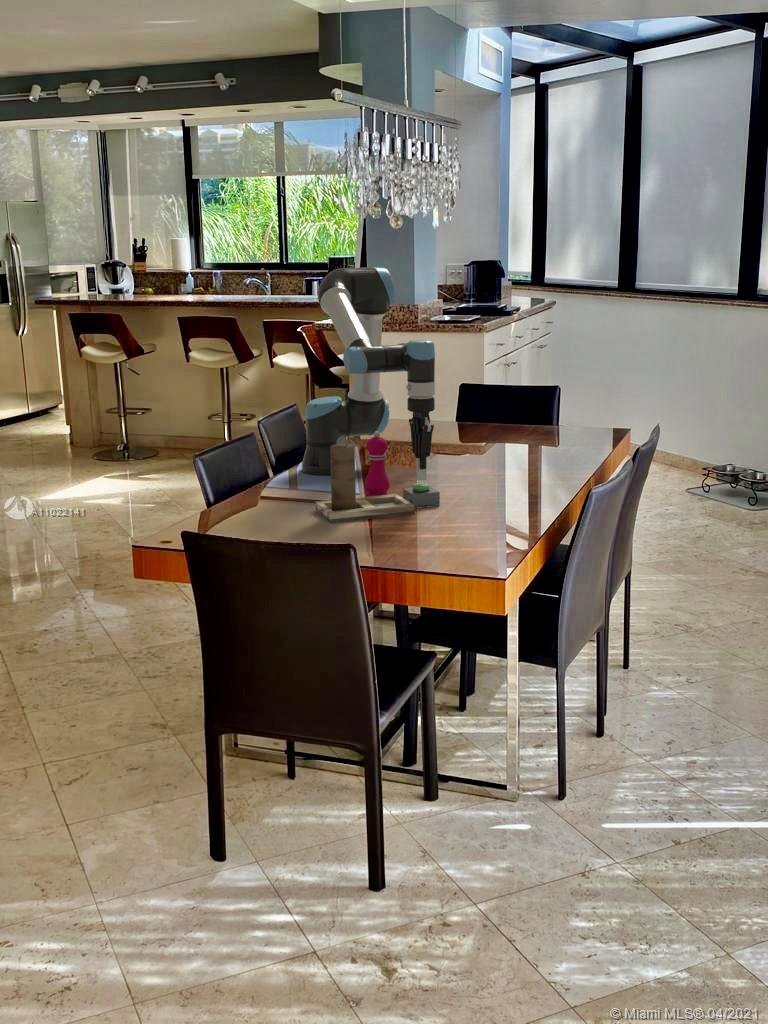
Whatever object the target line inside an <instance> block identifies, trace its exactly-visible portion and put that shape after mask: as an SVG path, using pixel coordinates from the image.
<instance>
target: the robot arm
mask: <svg viewBox="0 0 768 1024" xmlns="http://www.w3.org/2000/svg"><path fill="white" fill-rule="evenodd" d="M317 290H318V291H317V300H318V303H319V306H320V308H321V309H322V311H323V312H324V313H325V314H326V315H328V316H329V319H330V321H331V322H332V325H333V327H334V329H335V331H336V332H337V335H338V336H339V339H340V341H341V343H342V345H343V347H344V349H345V350H344V351H343V356H342V358H343V359H342V360H343V364H344V365H343V366H344V370H345V371H346V373H348V374H351V375H352V389H351V390H349V392H348V393H347V400H343V399H342V397H341V396H337V395H335V396H334V395H332V396H324V397H323V396H322V397H319V398H315V399H311V400H309V402H307V404H306V405H305V416H304V418H305V434H306V436H305V438H306V449H305V451H304V455H303V459H302V462H301V472H303V473H305V474H308V475H317V476H318V475H321V476H323V475H324V476H327V475H328V476H329V475H330V476H331V459H330V446H332V445H337V444H336V442H337V439H338V438H340V437H345V438H347V437H361V436H362V437H363V436H371V437H372V436H374V433H375V432H379V433H380V434H382V433H383V432H384V431H385V430H386V429H387V427H388V424H389V419H390V406H389V405H390V404H389V402H388V400H387V399H386V398H385V397H384V393H382V392H381V391H380V381H381V379H380V378H381V373H397V372H398V373H399V372H407V380H406V381H407V385H406V386H405V387H406V390H407V396H408V397H407V411H408V412H410V413H412V418H411V417H410V418H408V423H409V428H410V438H411V451H412V453H413V454H414V457H415V480H416V481H427V479H428V478H427V477H428V475H427V469H428V468H427V467H428V466H427V464H428V462H427V460H428V459H427V458H429V457H430V456H431V450H432V449H431V448H432V440H433V439H432V438H433V431H434V428H435V426H434V424H431V418H430V412H434V410H435V407H436V405H435V402H436V401H435V397H434V396H435V394H436V393H435V392H436V381H435V372H436V371H435V369H436V368H435V367H436V366H435V362H436V351H435V342H434V341H433V340H430V339H412V340H409V341H408V342H404V343H397V344H391V345H390V344H389V345H387V344H385V345H382V336H383V335H382V334H383V318H384V317H385V316H386V315H387V314H388V311H389V310H388V309H389V307H390V306H392V305H394V304H395V300H396V289H395V283H394V280H393V276H392V274H391V272H390V271H389V270H388V269H387V268H385V267H377V266H376V267H375V266H367V267H366V266H365V267H349V268H348V267H343V268H342V267H341V268H336V269H333V270H332V271H330V272H328V273H327V274H326V275H325V276H324V278H323V279H322V280H321V282H320V284H319V287H318V289H317Z"/></svg>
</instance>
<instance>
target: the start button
mask: <svg viewBox="0 0 768 1024" xmlns="http://www.w3.org/2000/svg"><path fill="white" fill-rule="evenodd" d="M412 487H413V490H415V491H416V492H425V491H427V490H429V489H430V487H431V485H430V484H429V483H426V482H417V483H413V484H412Z"/></svg>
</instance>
